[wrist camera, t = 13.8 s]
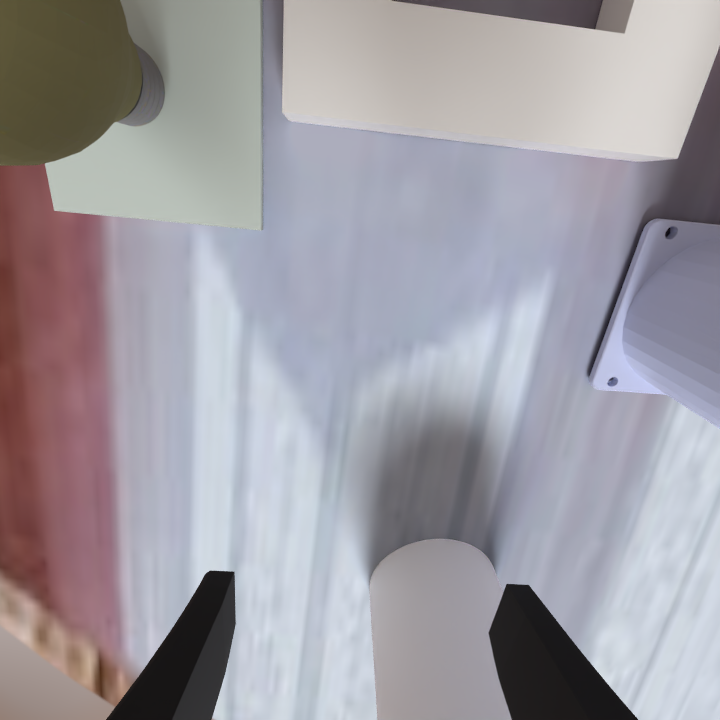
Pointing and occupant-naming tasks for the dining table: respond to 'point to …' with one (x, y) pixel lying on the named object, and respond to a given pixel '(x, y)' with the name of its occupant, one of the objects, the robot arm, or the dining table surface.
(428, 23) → the socket block
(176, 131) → the rubber pad
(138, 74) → the light bulb
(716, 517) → the dining table surface
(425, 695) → the cup
